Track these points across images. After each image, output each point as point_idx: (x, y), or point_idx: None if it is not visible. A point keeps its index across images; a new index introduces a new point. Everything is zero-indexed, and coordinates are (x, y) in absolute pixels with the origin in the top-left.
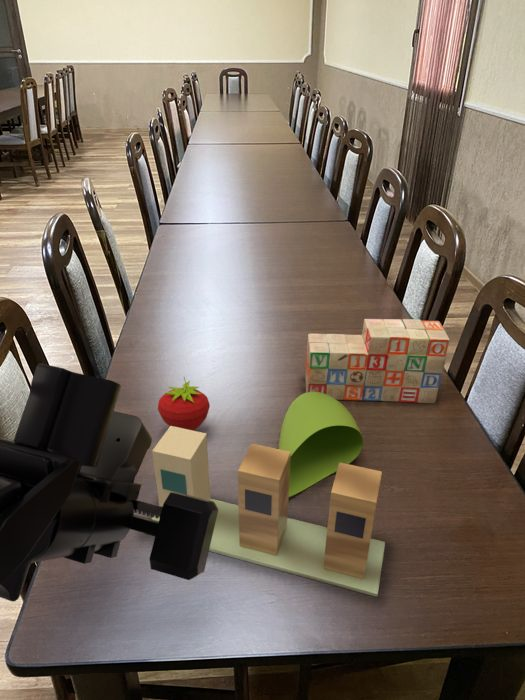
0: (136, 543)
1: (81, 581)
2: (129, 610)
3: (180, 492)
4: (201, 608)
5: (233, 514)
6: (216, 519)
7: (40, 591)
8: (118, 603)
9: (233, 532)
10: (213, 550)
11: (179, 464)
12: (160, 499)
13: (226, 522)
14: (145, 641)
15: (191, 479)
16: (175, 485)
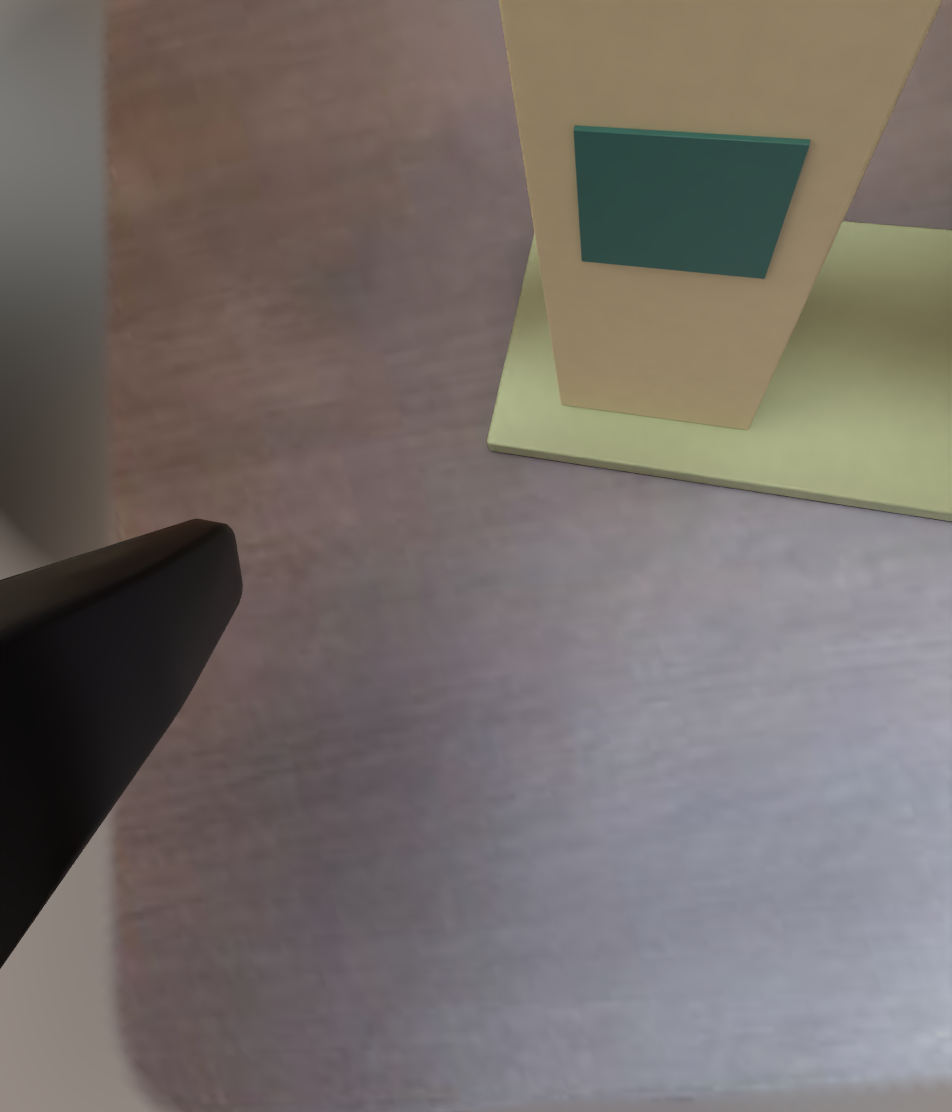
0: (466, 507)
1: (287, 726)
2: (537, 854)
3: (718, 270)
4: (880, 819)
5: (910, 285)
6: (827, 329)
7: (137, 790)
8: (477, 822)
9: (942, 390)
10: (857, 503)
11: (786, 43)
12: (560, 314)
13: (886, 337)
14: (658, 1009)
15: (859, 169)
16: (688, 231)
